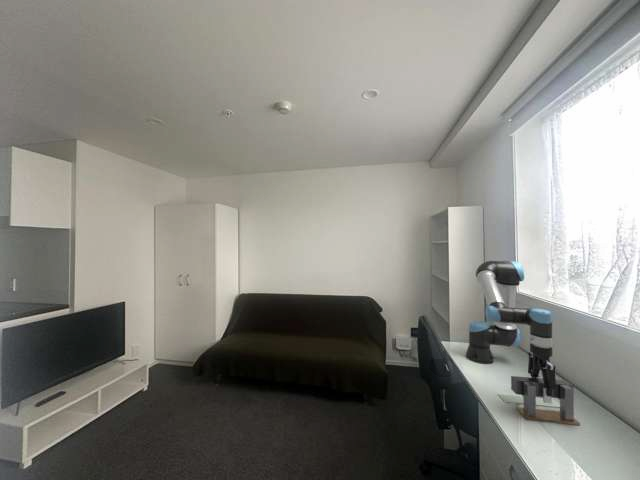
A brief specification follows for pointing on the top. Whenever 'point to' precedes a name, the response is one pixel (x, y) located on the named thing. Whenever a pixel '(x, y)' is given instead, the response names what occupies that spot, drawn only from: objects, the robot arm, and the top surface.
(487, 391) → the top surface
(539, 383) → the rail
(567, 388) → the hook rack
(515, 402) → the mat
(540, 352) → the robot arm
